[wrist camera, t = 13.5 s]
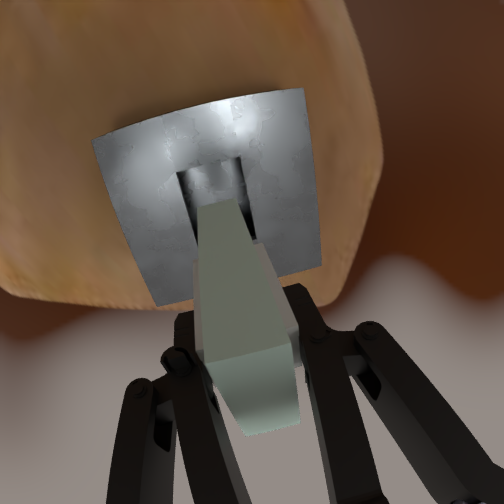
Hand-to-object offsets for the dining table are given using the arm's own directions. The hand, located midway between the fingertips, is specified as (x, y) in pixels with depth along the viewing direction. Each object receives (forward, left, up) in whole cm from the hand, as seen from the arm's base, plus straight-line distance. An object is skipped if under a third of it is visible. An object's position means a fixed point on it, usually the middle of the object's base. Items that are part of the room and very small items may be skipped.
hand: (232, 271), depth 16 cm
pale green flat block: (0, 0, -4) cm, 4 cm away
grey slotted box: (0, 0, -17) cm, 17 cm away
